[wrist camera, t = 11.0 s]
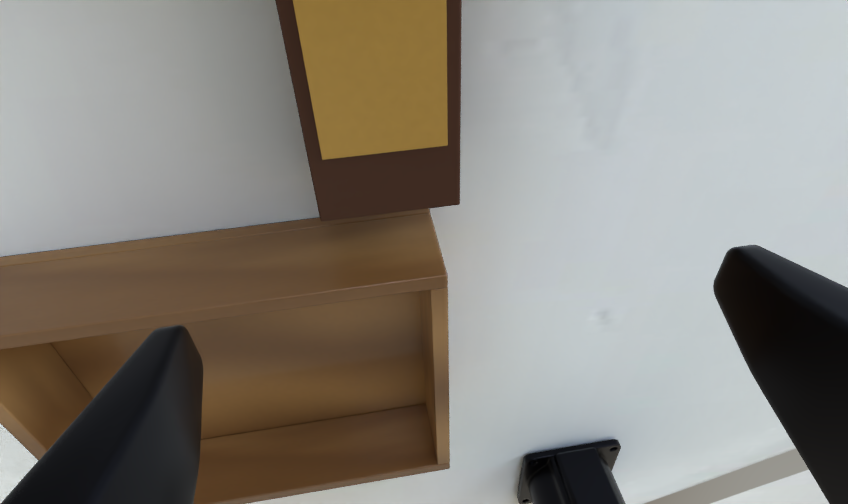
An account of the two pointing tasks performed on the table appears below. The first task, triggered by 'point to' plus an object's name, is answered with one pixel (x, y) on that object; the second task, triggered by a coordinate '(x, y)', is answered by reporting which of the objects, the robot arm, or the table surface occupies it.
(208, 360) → the wooden box
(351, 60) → the chocolate bar
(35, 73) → the table surface
